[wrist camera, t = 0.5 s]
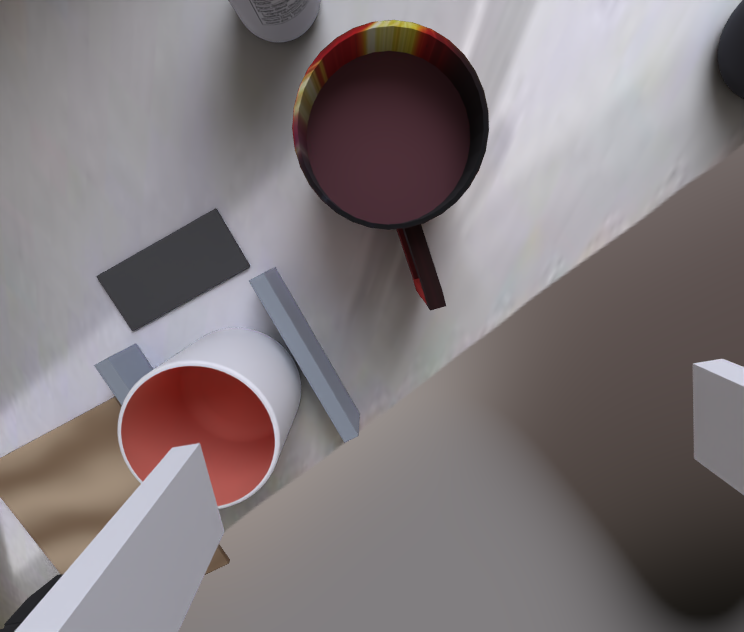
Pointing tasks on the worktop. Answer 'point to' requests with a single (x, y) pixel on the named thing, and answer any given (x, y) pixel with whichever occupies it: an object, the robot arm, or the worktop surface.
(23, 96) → the worktop surface
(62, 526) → the plate
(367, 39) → the mug
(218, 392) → the cup
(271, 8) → the energy drink can
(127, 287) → the mat
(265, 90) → the worktop surface
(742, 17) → the cola bottle
